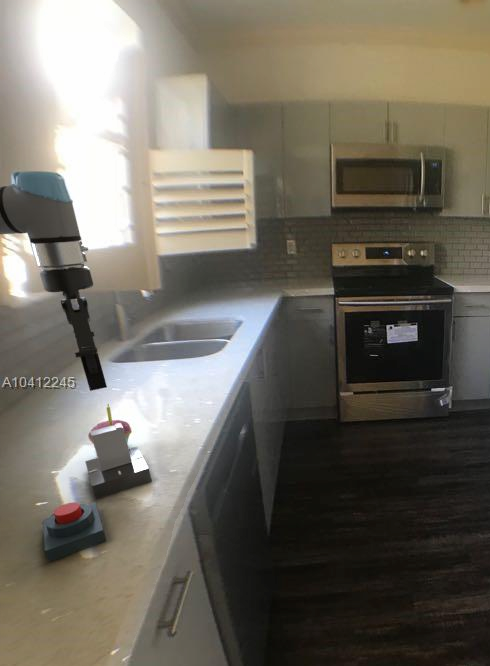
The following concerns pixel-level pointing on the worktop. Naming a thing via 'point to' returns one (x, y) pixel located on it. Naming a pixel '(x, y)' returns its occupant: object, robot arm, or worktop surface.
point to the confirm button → (68, 513)
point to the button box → (73, 533)
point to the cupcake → (110, 423)
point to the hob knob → (111, 446)
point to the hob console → (118, 475)
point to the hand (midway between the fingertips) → (95, 379)
